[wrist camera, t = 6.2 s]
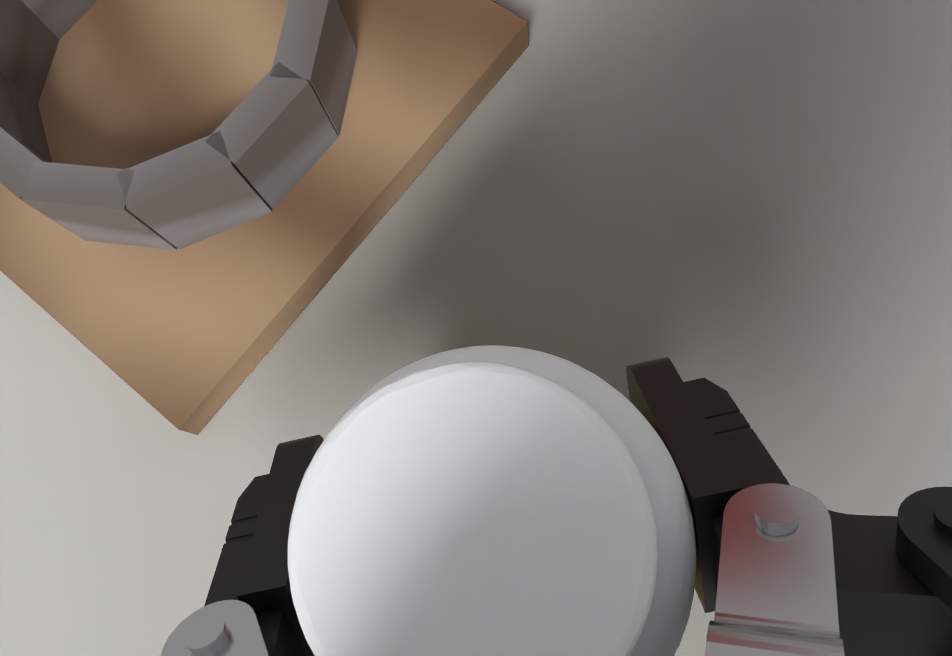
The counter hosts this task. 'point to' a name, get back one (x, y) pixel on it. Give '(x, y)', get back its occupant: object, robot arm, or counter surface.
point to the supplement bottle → (492, 517)
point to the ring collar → (217, 163)
